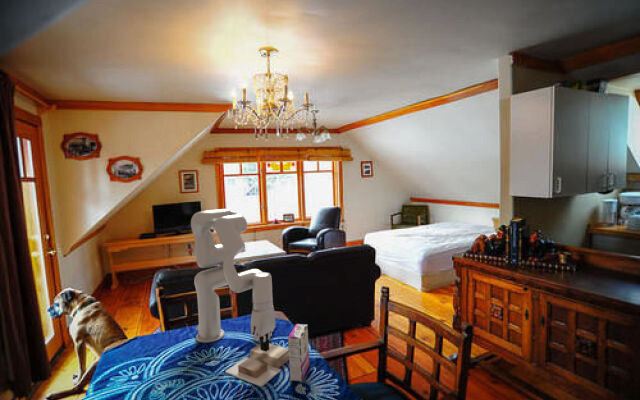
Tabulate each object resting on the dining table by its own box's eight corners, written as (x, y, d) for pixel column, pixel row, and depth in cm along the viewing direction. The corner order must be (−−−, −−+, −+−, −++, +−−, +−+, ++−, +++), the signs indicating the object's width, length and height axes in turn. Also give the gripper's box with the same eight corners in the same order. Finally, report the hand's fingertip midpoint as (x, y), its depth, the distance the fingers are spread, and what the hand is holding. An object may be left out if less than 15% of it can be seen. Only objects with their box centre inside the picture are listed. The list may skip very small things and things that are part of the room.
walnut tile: (249, 357, 130) (249, 364, 130) (238, 365, 125) (238, 371, 125) (266, 363, 125) (267, 370, 125) (256, 371, 120) (256, 378, 120)
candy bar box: (297, 364, 130) (295, 323, 129) (309, 365, 129) (308, 324, 128) (289, 381, 119) (287, 336, 118) (302, 382, 118) (300, 337, 117)
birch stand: (250, 359, 134) (250, 350, 134) (263, 350, 141) (263, 341, 141) (277, 368, 127) (277, 358, 127) (290, 359, 134) (289, 349, 134)
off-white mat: (225, 372, 126) (225, 371, 126) (246, 358, 135) (245, 357, 135) (261, 386, 116) (261, 385, 116) (280, 371, 126) (280, 369, 126)
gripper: (268, 297, 139) (269, 339, 140) (242, 309, 126) (244, 356, 127) (282, 300, 135) (284, 343, 136) (257, 313, 122) (259, 361, 123)
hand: (264, 349), depth 131 cm, fingers closed
